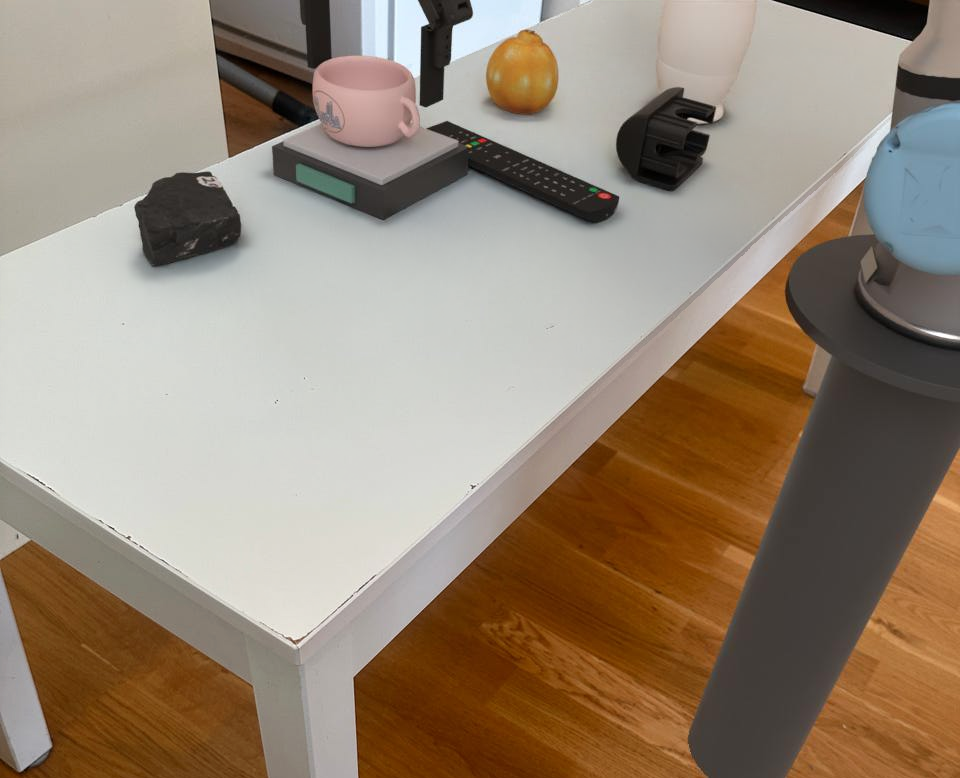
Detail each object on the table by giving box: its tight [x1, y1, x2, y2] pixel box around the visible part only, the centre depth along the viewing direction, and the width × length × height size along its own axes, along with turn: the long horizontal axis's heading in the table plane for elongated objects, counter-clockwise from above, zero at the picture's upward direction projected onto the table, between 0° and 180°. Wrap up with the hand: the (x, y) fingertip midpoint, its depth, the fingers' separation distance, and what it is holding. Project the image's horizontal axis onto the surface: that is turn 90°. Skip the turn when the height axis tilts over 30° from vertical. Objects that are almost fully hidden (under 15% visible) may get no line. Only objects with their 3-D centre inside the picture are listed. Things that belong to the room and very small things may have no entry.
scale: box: [271, 122, 469, 221], centre depth 102 cm, size 14×14×3 cm
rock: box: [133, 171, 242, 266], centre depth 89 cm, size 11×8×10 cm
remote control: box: [425, 120, 620, 223], centre depth 105 cm, size 5×24×1 cm, turn 49°
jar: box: [656, 0, 758, 125], centre depth 116 cm, size 11×10×15 cm
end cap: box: [615, 87, 716, 192], centre depth 107 cm, size 10×7×7 cm
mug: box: [312, 55, 421, 147], centre depth 99 cm, size 12×10×6 cm
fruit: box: [485, 29, 559, 115], centre depth 116 cm, size 8×8×8 cm
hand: (374, 83), depth 97 cm, fingers open, 13 cm apart
